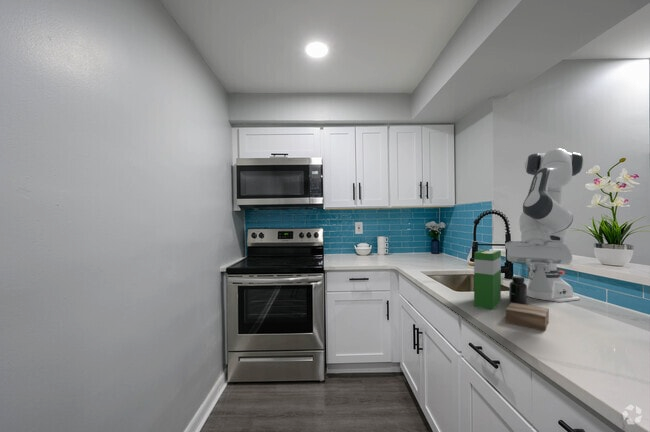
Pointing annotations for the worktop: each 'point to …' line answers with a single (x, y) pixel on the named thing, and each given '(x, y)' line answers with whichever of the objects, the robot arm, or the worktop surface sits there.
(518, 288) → the supplement bottle
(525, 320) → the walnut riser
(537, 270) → the flask
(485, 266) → the hardback book
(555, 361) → the worktop surface
